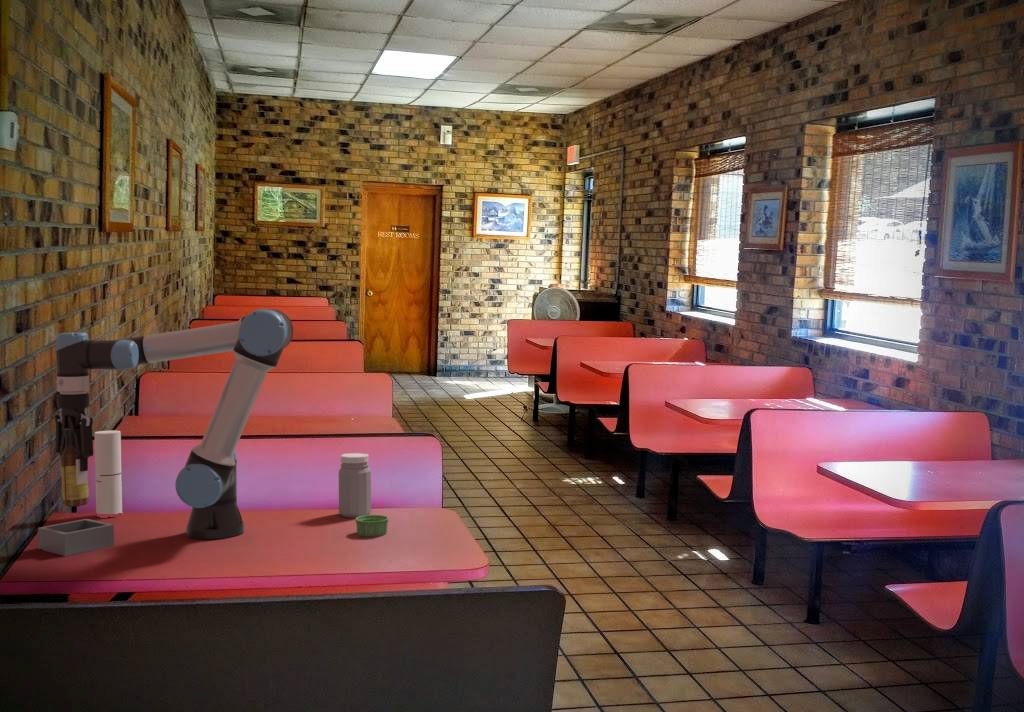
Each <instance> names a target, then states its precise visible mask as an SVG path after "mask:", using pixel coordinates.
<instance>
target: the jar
mask: <svg viewBox="0 0 1024 712" xmlns="http://www.w3.org/2000/svg"><path fill="white" fill-rule="evenodd" d="M369 455H370V454H368V453H365V452H364V453H363V452H350V453H349V452H348V453H343V454H340V462H341V464H340V468H339V469H338V513H339V514H340V515H341V517H344V518H351V519H352V518H354V519H356V518H357V517H359V516H364V515H371V512H372V470H371V468H370V467H369V465H370V464H369V463H368V462H369V460H370V459H369Z"/></svg>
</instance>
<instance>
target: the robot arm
mask: <svg viewBox="0 0 1024 712" xmlns="http://www.w3.org/2000/svg"><path fill="white" fill-rule="evenodd" d="M293 336H294V325H293V322H292V321H291V319H290V318H289V316H288V315H287V314H286V313H284V312H283V311H280V310H278V309H273V308H270V309H269V308H258V309H256V310H252V312H250V313H248V314H247V315H246V316H242V317H240V319H239V320H238V321H233V322H227V323H221V324H214V325H207V326H201V327H195V328H186V329H182V330H174V331H169V332H167V331H166V332H162V333H156V334H148V335H143V336H136V337H126V338H122V339H121V338H120V339H113V340H112V339H111V340H110V339H108V340H107V339H106V340H105V339H104V340H99V339H98V340H95V339H90V338H89V334H88V333H87V332H79V331H78V332H77V331H76V332H75V331H74V332H60V333H58V334H57V336H56V344H55V345H56V346H55V356H56V357H55V358H56V359H55V361H56V363H55V364H56V391H57V392H58V393H57V395H56V406H57V408H58V409H60V410H61V413H60V414H55V415H54V421H55V447H54V448H55V453H56V454H59V456H60V457H61V454H62V452H63V450H64V448H65V434H64V429H66V428H69V429H71V432H72V433H73V434H74V439H75V444H76V449H77V455H78V457H75V458H76V484H77V485H79V484H85V483H88V484H89V475H88V474H89V467H88V466H89V465H88V464H89V463H88V462H89V461H88V460H89V458H90V457H93V456H94V441H93V421H94V419H93V417H87V416H86V415H87V414H86V411H85V410H86V409H87V408H89V407H90V394H89V391H90V377H89V375H90V373H89V372H90V371H89V370H111V371H112V370H116V371H117V370H119V371H124V370H126V371H127V370H133V369H136V367H137V366H140V365H147V364H154V363H159V362H160V363H161V362H165V361H166V362H167V361H172V360H173V361H175V360H179V359H187V358H193V357H201V356H207V355H213V354H219V353H226V352H227V353H228V352H233V355H234V356H235V361H234V363H233V365H232V368H231V370H230V372H229V375H228V378H227V380H226V383H225V384H224V386H223V387H224V388H223V389H222V392H221V394H220V396H219V399H218V400H217V401H218V402H217V404H216V406H215V408H214V411H213V413H212V416H211V418H210V420H209V423H208V425H207V427H206V430H205V432H204V435H203V437H202V440H201V442H200V444H198V445H195V446H193V447H191V450H190V453H189V455H188V458H187V460H186V462H185V465H184V467H182V468H181V470H179V472H178V474H177V476H176V478H175V479H176V480H175V484H174V485H175V492H176V494H177V496H178V498H179V499H180V501H182V502H183V504H185V505H187V506H189V507H191V511H190V514H189V518H188V522H187V524H186V526H185V529H186V530H185V533H186V534H185V535H186V536H187V537H189V538H192V539H198V540H199V539H200V540H215V539H216V540H217V539H225V538H232V537H236V536H238V535H242V534H243V533H244V532H245V525H244V524H245V523H244V521H243V518H242V514H241V512H240V509H239V506H238V495H237V494H238V489H237V487H238V486H237V483H238V482H237V481H238V480H237V463H238V459H237V453H236V452H235V450H236V448H237V447H238V443H239V442H240V438H241V436H242V434H243V432H244V429H245V427H246V425H247V422H248V419H249V416H251V412H252V411H253V407H254V405H255V403H256V400H257V398H258V396H259V393H260V391H261V388H262V386H263V384H264V381H265V379H266V376H267V374H268V372H269V371H271V370H274V369H276V367H277V365H278V363H279V360H280V359H281V356H282V354H283V351H284V349H286V347H288V346H289V345H290V343H291V342H292V340H293V338H294V337H293Z"/></svg>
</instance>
